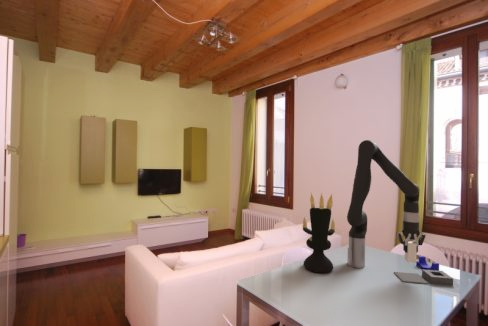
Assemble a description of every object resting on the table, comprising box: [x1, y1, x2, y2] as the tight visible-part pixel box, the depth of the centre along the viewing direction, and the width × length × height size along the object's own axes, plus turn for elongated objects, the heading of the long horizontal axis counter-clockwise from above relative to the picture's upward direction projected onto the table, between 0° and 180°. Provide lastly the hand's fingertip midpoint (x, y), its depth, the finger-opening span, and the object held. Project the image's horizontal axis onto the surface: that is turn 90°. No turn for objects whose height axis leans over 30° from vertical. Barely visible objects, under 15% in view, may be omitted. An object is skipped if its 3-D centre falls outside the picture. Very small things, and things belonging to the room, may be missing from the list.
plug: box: [404, 240, 417, 264], centre depth 144 cm, size 4×4×10 cm
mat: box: [393, 271, 429, 285], centre depth 144 cm, size 12×12×1 cm
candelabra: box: [302, 192, 336, 274], centre depth 154 cm, size 19×22×45 cm
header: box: [421, 269, 454, 286], centre depth 142 cm, size 10×10×4 cm
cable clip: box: [415, 255, 440, 271], centre depth 157 cm, size 12×4×6 cm, turn 4°
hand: (410, 252), depth 144 cm, fingers closed on plug, 4 cm apart
